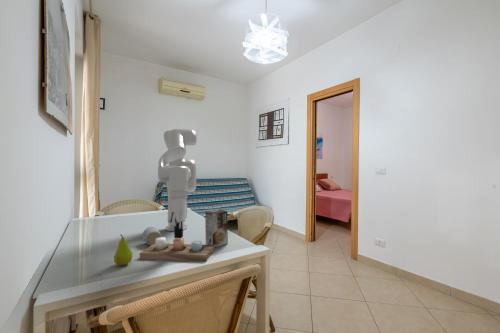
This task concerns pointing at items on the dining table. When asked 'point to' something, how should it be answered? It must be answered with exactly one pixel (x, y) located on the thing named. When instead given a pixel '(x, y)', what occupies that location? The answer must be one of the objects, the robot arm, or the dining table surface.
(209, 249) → the walnut board
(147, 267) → the dining table surface
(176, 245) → the salmon domed cylinder
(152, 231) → the ceramic mug
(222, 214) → the coffee box
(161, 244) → the white egg
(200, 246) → the blue egg
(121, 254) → the fruit
